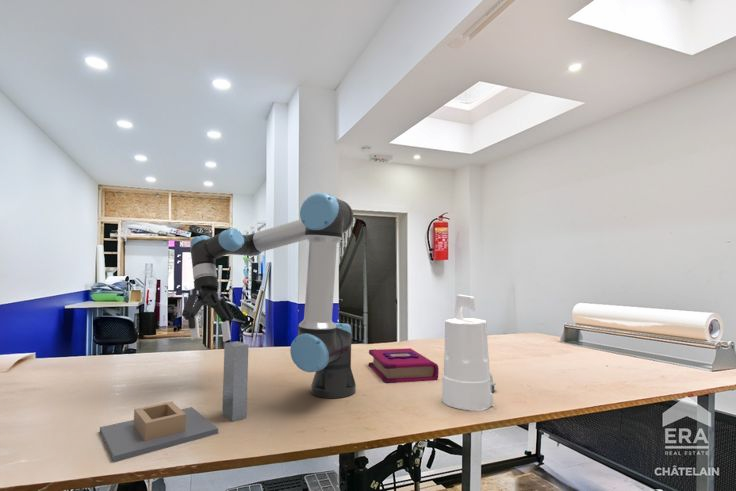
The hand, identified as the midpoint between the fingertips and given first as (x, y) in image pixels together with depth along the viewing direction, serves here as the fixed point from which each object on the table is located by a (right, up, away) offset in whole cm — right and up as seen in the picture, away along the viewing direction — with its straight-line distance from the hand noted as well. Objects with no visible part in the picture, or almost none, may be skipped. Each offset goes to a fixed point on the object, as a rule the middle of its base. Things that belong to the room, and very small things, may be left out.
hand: (212, 339), depth 124 cm
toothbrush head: (+90, -21, +19) cm, 95 cm away
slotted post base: (-2, -16, -28) cm, 32 cm away
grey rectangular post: (+13, -17, -16) cm, 27 cm away
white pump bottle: (+82, -19, -3) cm, 84 cm away
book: (+64, -22, +32) cm, 75 cm away
